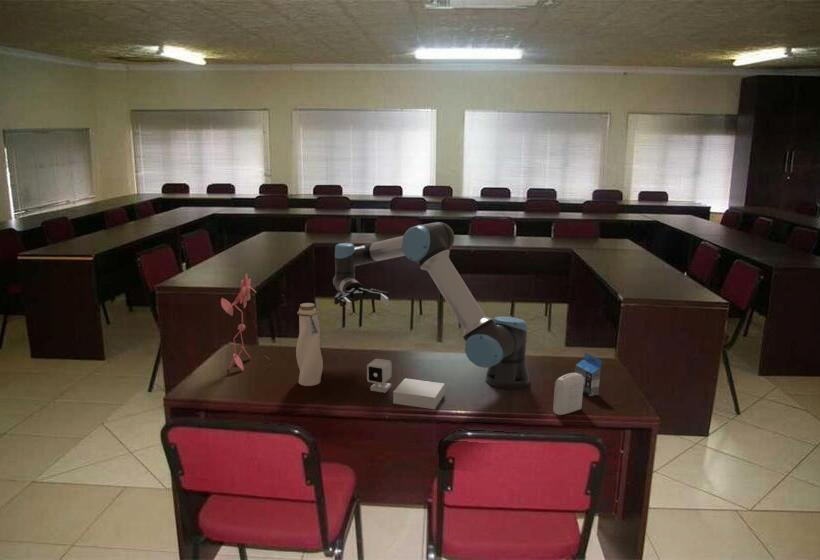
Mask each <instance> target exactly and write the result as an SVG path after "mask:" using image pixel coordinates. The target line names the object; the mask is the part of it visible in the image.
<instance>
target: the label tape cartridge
mask: <svg viewBox="0 0 820 560" xmlns="http://www.w3.org/2000/svg"><path fill="white" fill-rule="evenodd" d="M583 357H584V358H583V359H582V360H581V361H579V362H578V363H576V364H575V369H574V373H578V374H581V375H582V376H583V379H584V384H583V393H584V394H585V395H587V396H588V395H589V397H590V396H591V397H595V396H594V395H596V396H598V395H599V392H600V390H599V389H600V379H601V368H602V361H603V360H601V359H598V358H597V357H595V356H593V355H591V354H589V353H587V352H584V356H583ZM592 360H593V361H592Z"/></svg>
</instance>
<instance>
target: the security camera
mask: <svg viewBox="0 0 820 560" xmlns="http://www.w3.org/2000/svg"><path fill="white" fill-rule="evenodd" d="M391 378H392V361H391V360H388V359H382V358H378V357H377V358H375V359H373V360H372V361H370V362H369V363H368V364H367V365H366V380H367V382H368V383H373V384H372V385H370V390H369V391H372V392H377V393H382V392H383V393H384V394H385V393H386V392H388V391H389V390H390V389H391V388H392V383H389V382H388V381H389V380H390V379H391ZM383 393H382V394H383Z"/></svg>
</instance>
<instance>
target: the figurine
mask: <svg viewBox="0 0 820 560" xmlns="http://www.w3.org/2000/svg"><path fill="white" fill-rule="evenodd" d="M248 275H249V274H248V273H247V272H246V273H245V275H244V278H243V279H242V280H241V281H240V291H239V292H238V294H237V296H236V298H235V300H234V301H233V302H230V301H228V300H227V299H225V298H224V297H222V298H220V305H221V307H222V309H223V310H224V312H225V313H226V314H228V315H230V316H231V317H233V315H234V307H235V308H236V309H237V310H238V311H240V313H241V323H240V324H238V325H237V330H239V331H238V333H236V335H235V336H234V337H233V346H234V347H233V348H234V353H233V354H232V361H231V363H230V365H229V367H228V370H230V369H231V368H232V365H233V363H235V365H236V366H237V367H238V368H239V369H240V370H241V371H242V372H244V364H243V362H242V359H241V357H240V356H241V354H242V352H243V351H244V353H246V355H247V357H248V358H249V359H250V360H251V359H252V357H251V356H250V355H249V354H248V352H247V351H246V350H245V347H244V341H243V335H242V332H244V331H245V329H246V325H245V324H244V312H243V311H242V309H240V308H239V307H238V306H237V304H238V303H239V304H242V305H243V306H242V307H243V309H246V307H247V304H248V303H247V302H248V301H250V300H251V290H252V291H253V292H254V293H255V294H258V293H257V292H258V291H256V290H255V289H254V288H253V287H251V286H252V285H251V283H252V281H251V278H249V277H248ZM233 306H234V307H233ZM239 334H240V338H241V344H242V345H240V347H241V349H240V351H239V354H237V350H236V339H235V338H236V337H237V336H238V335H239ZM263 356H264V357H266V356H265V355H263ZM267 359H268V360H269V361H270V360H271V358H269V357H267ZM271 365H272V363H269V365H268V366H267V367H265V368H264V369H262V370H263V371H264V370H266V369H267V368H269V367H270V366H271ZM221 375H224V376H225V375H226V374H224V373H221Z"/></svg>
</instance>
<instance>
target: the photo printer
mask: <svg viewBox="0 0 820 560" xmlns="http://www.w3.org/2000/svg"><path fill="white" fill-rule="evenodd" d="M583 384H584V379H583V376H582V375H581V374H578V373H575V372H569V373H566V374H563V375H562V376H559V377H558V378H557V379H556V380H555V382H554V390H553V391H554V392H553V393H554V394H553V406H552V407H553V408H552V411H553V413H554V414H555V415H557V416H561V415H562V416H563V415H566V414H571V413H573V412H576V411H579V410H582V406H583V404H582V403H583Z"/></svg>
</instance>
